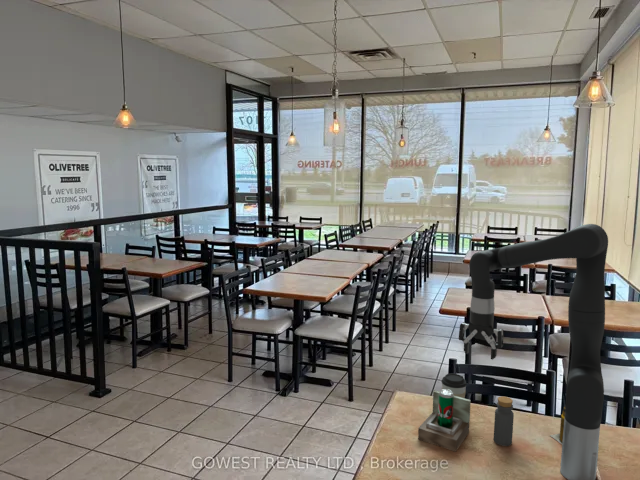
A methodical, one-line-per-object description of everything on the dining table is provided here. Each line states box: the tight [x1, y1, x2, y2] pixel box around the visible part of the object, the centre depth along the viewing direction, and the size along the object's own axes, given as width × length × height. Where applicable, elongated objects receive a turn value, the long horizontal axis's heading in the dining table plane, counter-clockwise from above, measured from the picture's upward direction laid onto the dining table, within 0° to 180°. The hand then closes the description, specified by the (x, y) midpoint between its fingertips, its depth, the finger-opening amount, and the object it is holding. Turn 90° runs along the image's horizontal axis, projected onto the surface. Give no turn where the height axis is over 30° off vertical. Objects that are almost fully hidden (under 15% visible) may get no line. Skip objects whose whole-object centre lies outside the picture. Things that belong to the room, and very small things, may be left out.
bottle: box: [493, 395, 515, 447], centre depth 158 cm, size 6×6×15 cm
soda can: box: [437, 388, 454, 428], centre depth 161 cm, size 5×5×12 cm
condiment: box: [549, 405, 565, 445], centre depth 159 cm, size 7×8×12 cm
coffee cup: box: [440, 373, 468, 399], centre depth 176 cm, size 9×9×15 cm
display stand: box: [417, 390, 472, 452], centre depth 161 cm, size 13×14×12 cm
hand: (479, 355), depth 160 cm, fingers open, 8 cm apart
